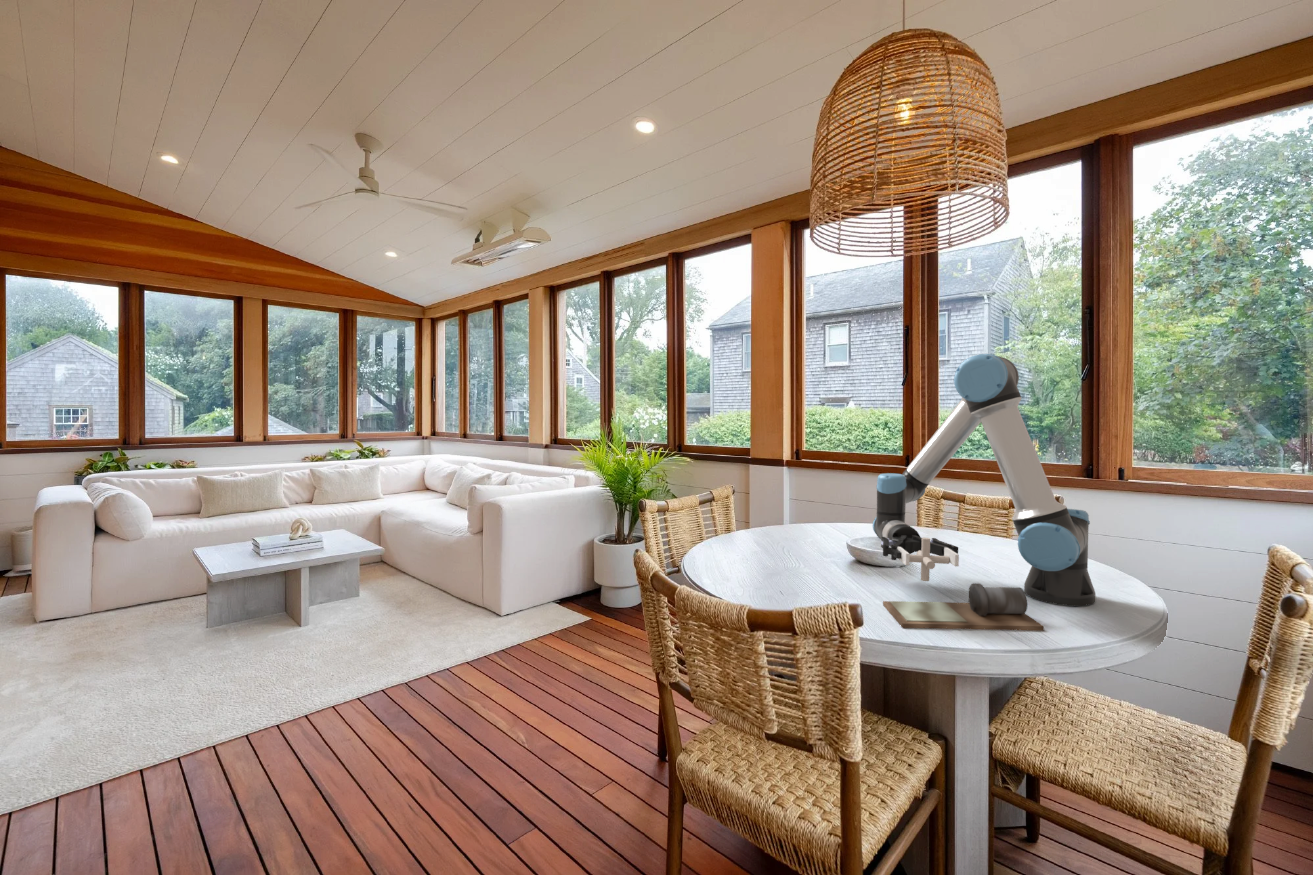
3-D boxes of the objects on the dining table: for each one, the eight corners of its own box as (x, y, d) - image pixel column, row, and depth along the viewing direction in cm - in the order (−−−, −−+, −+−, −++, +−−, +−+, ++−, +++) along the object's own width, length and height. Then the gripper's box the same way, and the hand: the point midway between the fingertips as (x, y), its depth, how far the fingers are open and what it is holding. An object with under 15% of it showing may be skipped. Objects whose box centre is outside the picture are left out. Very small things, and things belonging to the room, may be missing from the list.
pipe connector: (954, 587, 133) (955, 544, 133) (907, 585, 135) (908, 542, 135) (941, 575, 143) (942, 534, 143) (898, 572, 145) (899, 532, 145)
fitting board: (1009, 607, 144) (1010, 576, 144) (1043, 630, 129) (1044, 595, 129) (883, 605, 147) (883, 574, 147) (902, 627, 132) (902, 593, 132)
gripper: (945, 552, 156) (983, 577, 134) (857, 550, 158) (880, 575, 136) (946, 524, 155) (984, 544, 133) (857, 522, 158) (881, 542, 136)
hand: (932, 560), depth 135 cm, fingers closed on pipe connector, 10 cm apart
